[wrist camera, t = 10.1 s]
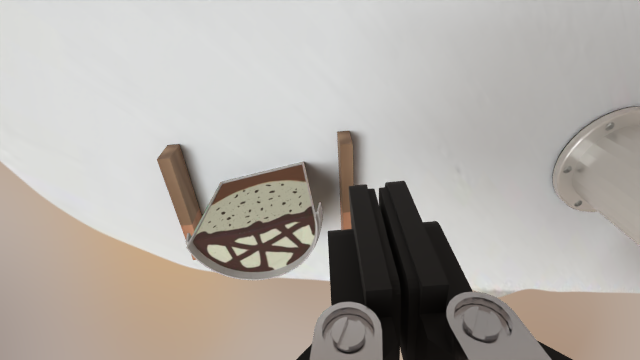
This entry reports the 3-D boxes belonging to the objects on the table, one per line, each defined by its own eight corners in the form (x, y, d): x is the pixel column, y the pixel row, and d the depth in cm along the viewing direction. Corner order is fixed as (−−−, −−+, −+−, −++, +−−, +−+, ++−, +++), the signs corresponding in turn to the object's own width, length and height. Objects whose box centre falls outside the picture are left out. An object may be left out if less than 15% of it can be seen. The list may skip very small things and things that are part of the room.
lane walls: (349, 130, 35) (352, 143, 32) (351, 229, 42) (354, 246, 39) (167, 145, 35) (156, 159, 32) (199, 241, 42) (193, 259, 39)
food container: (229, 227, 41) (210, 295, 32) (207, 185, 38) (180, 249, 29) (330, 203, 40) (338, 268, 31) (317, 158, 36) (321, 216, 28)
